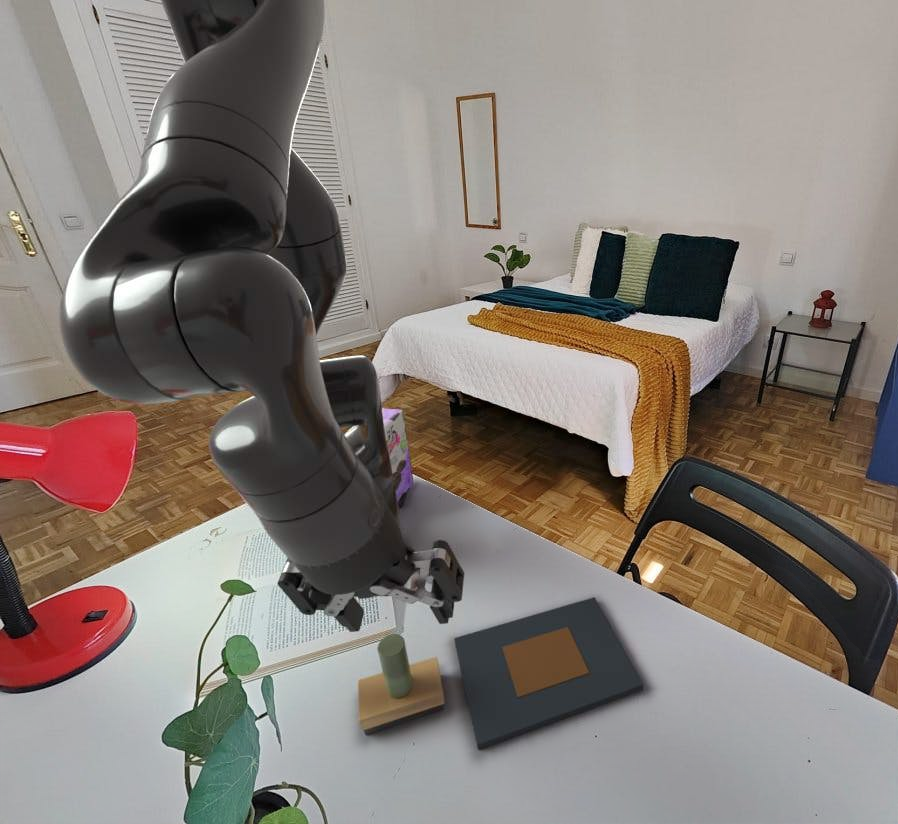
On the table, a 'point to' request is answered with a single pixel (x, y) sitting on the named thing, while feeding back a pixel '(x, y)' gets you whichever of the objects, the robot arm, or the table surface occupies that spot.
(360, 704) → the brush
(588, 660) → the desk mat
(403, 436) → the candy box
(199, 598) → the table surface
